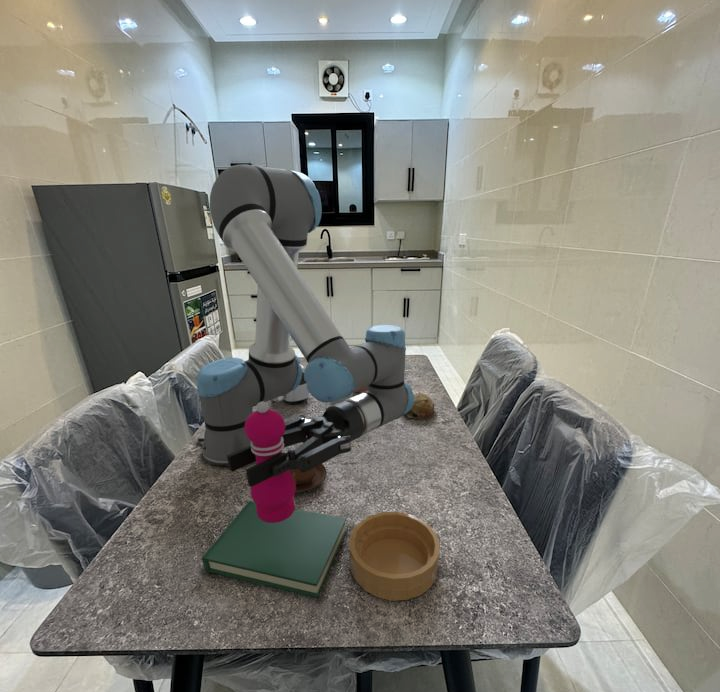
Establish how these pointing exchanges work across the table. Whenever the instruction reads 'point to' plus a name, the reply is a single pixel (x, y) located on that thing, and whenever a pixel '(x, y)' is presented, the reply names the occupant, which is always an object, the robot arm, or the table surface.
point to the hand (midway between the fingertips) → (238, 470)
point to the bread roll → (421, 407)
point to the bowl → (394, 555)
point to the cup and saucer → (308, 477)
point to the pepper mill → (265, 444)
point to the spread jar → (297, 393)
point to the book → (278, 550)
